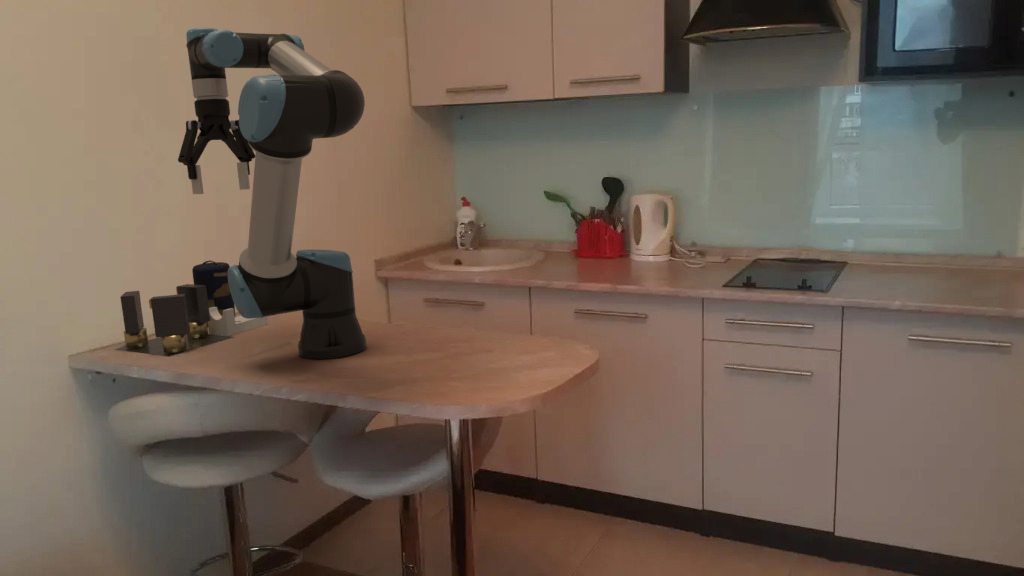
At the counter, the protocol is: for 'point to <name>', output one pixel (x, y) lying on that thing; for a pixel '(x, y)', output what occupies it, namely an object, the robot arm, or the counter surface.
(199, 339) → the level plate
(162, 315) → the dark grey block
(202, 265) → the canister
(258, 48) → the robot arm
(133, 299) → the brass knob with block
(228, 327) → the bracket
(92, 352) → the counter surface
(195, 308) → the knob right
